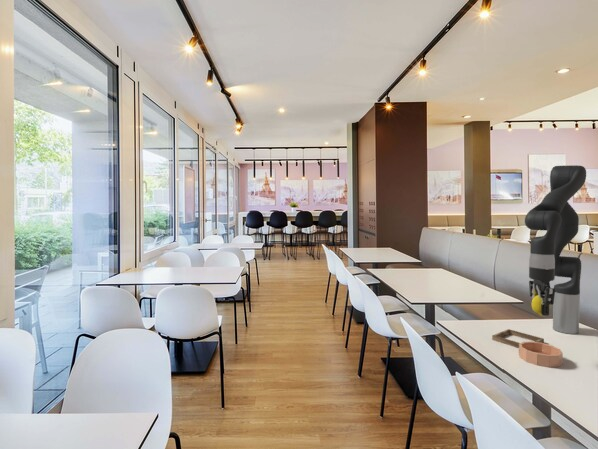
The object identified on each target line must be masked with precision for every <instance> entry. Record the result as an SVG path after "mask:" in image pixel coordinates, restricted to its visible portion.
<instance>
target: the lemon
mask: <svg viewBox="0 0 598 449" xmlns="http://www.w3.org/2000/svg"><path fill="white" fill-rule="evenodd" d="M531 309H532V311H533V312H535V314H537V315H538V316H540V317H542V316H543V315H542V314H541V299H540V298H539V296H538V295H537V296H535V297H534V298H533V299H532V300H531ZM550 309H551V305H549V311H550Z"/></svg>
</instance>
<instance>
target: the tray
mask: <svg viewBox="0 0 598 449" xmlns="http://www.w3.org/2000/svg"><path fill="white" fill-rule="evenodd" d="M508 335H512V336H515V337H518V338H521V339H526V340H530V341H531V342H539V343H544V344H545V338H544V337H543V338H542V337H540V336H536V335H531V334H528V333H525V332H521V331H517V330H513V329H509V328H508V329H505V330H502V331H500V332H498V333H495V334H493V335H492V336H491V340H492V341H494V342H495V341H496V342H498V343H500V344H501V343H503V344H505V345H509V346H511V347H514V346H515V347H514V348H517V349H519V343H520V342H519V341H515V340H511V339H508V338H504V337H506V336H508Z"/></svg>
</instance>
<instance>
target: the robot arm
mask: <svg viewBox="0 0 598 449" xmlns="http://www.w3.org/2000/svg"><path fill="white" fill-rule="evenodd" d="M586 178H587V169H586V167H585V166H583V165H573V164H572V165H556V166H555V165H554V166H553V167H552V168H551V170H550V174H549V184H550V191H549V192H548V193H547V194H545V196H544V197H543V199H542V201H541V202H540V203H539V204H537V205H535V206H534V207H533V208H531V209H530V210H529V211H528V212H527V214H526V215H525V218H524V225H525V227H526V228H528V229H529V230H532V231H546V232H545V234H544V235H542V236H533V237H532V238H530V248H529V249H530V253H529V263H528V277H529V279H531V280H529V281H528V284H529V286H528V287H529V297H530V298H531V299H532V300H533V298H534V297H535V296H537V295H538V296H539V298H540V299H541V314H542V316H547V317H548V316H549V315H550V310H549V305H550V306H551V305H553V306H552V307H553V308H552V329H553V330H554V331H557V332H560V333H564V334H570V335H576V334H577V335H578V334H579V333H580V306H581V304H580V296H581V287H580V286H581V277H582V276H581V275H582V261H581V259H580V257H577V256H561V254H562V252H563V250H564V249H565V248H566V246H567V245H569V243H571V241H572V240H573V239H575V237H576V236H577V235H578V233H579V220H580V219H579V216H578V212H577V211H576V210H575V209H574V207H573V206H571V204H570V203H569V201H570V200H571V199H572V197H574V196H575V195H576V193H577V192H579V191H580V189H582V188H583V186H584V185H585V183H586V180H587V179H586ZM555 277H560V278H570V280H568V281H566V282H562V283H557V284H556V283H555V285H553V287H551V284H550V282H551V281H554V280H555Z"/></svg>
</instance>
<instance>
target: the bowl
mask: <svg viewBox="0 0 598 449" xmlns="http://www.w3.org/2000/svg"><path fill="white" fill-rule="evenodd" d="M518 343H519V348H518V356H519V358H520V359H521V360H523V361H525V362H526V363H528V364H532V365H534V366H539V367H547V368H559V367H560V366H562V365H563V357H564V356H563V354H564V353H563V352H562V350H561V349H560V348H558V347H555V346H554V345H550V344H548V343H547V344H546V343H545V342H544V343H539V342H535V341H522V342H518Z"/></svg>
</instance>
